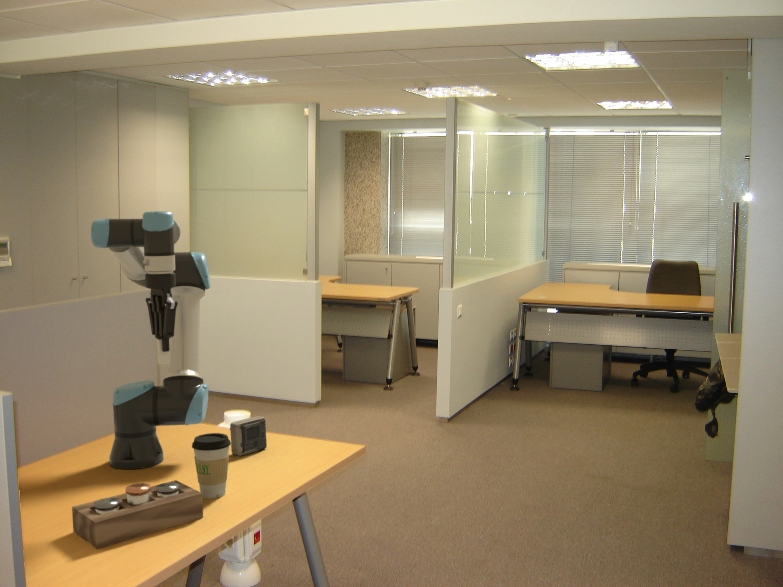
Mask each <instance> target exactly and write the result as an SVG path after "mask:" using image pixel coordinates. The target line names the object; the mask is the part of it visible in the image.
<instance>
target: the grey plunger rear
mask: <svg viewBox="0 0 783 587" xmlns="http://www.w3.org/2000/svg"><path fill="white" fill-rule="evenodd" d="M156 485H157V486H156V492H157V496H159V497H161V498H165V497H169V496H173V495H177V494H179V490H180V484H178V483H174V482H171V481H168V483H167V482H163V483H160V484H156Z"/></svg>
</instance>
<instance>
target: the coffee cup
mask: <svg viewBox="0 0 783 587" xmlns="http://www.w3.org/2000/svg"><path fill="white" fill-rule="evenodd" d="M193 439H194V440H193V442H192V444H191V448H192V449H193V452H194V457H193V458H194V462H195V469H196V475H197V482H198V485H199V492H201V493H202V499H219V498H221V497H223V496H224V495H226V488H227V481H228V471H229V459H230V454H229V451H230V447H231V439H230V438H229V436H228V434H225V433H220V432H219V433H218V432H213V433H212V432H211V433H203V434H199V435H196V436H195V437H194V438H193Z"/></svg>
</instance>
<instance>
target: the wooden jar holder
mask: <svg viewBox="0 0 783 587" xmlns="http://www.w3.org/2000/svg"><path fill="white" fill-rule="evenodd" d="M168 482H169V481H168ZM168 482H166V483H168ZM170 482H174V483H178V484H180V490H179V494H177V495H173V496H169V497H165V498H161V497H159V496H157V492H156V486H157V485H158V484H156V485H150V487H151V490H150V491H149V495H150V502H147V503H143V504H139V505H136V506H130V505H129V504H127V493H126V492H124V493H121V494H118V495H113V496H108V497H107V498H118V499H120V505H119V510H117V511H113V512H110V513H106V514H102V515H99V514H97V513H96V509H95V508H94V502H96V501H97V500H94V501H89V502H85V503H82V504H77V505H73V506H72V507H71V515H72V531H73V533H74V534H75V535H77V536H78V537H79V538H81V539H82V540H84V541H85V542H86V543H88V544H89V546H91V547H93V548H95V549H96V550H98V549H102V548H104V547H108V546H109V547H110V546H112V545H114V544H118V543H122V542H126V541H128V540H129V541H130V540H132V539H135V538H138V537H139V538H140V537H142V536H145V535H149V534H152V533H155V532H159V531H163V530H166V529H169V528H172V527H175V526H176V527H177V526H180V525H183V524H186V523H188V522H192V521H197V520H199V519H200V520H201V519H202V518H204V509H203V508H204V504H203V497H202V493H201V492H200V490H199V491H198V490H197V489H196V488H195V489H194V488H193V487H191V486H189V485H187V484H184V483H182V482H180V481H179V480H177V479H176V480H171V481H170Z"/></svg>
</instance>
